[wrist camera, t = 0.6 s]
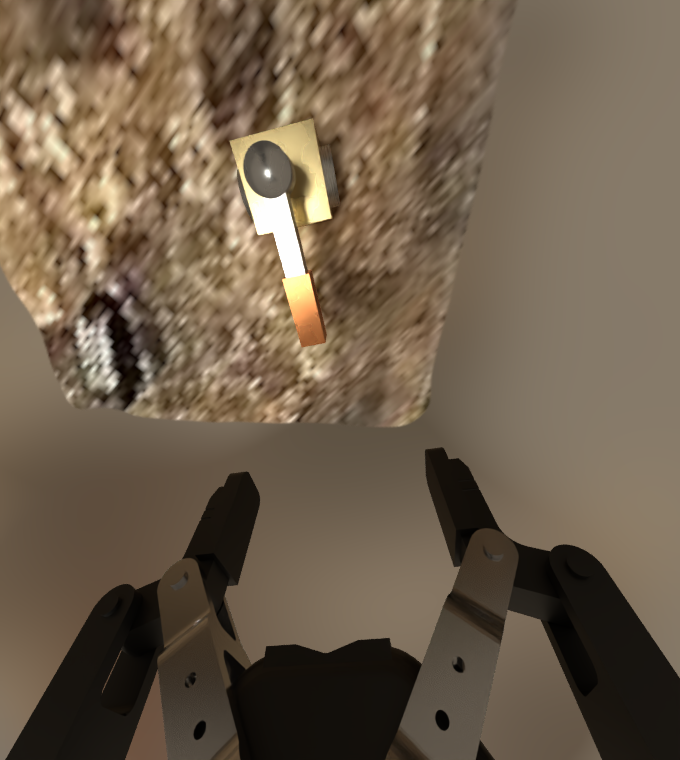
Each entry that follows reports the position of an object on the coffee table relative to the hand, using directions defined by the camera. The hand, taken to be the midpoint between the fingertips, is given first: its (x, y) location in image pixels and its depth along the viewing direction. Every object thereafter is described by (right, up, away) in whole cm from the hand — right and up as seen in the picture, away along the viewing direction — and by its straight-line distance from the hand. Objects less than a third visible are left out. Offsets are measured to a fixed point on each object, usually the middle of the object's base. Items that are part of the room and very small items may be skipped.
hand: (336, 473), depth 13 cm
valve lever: (-4, +15, +11) cm, 19 cm away
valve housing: (-5, +25, +18) cm, 31 cm away
